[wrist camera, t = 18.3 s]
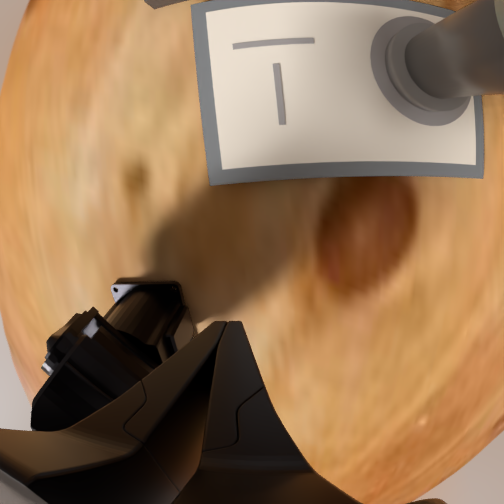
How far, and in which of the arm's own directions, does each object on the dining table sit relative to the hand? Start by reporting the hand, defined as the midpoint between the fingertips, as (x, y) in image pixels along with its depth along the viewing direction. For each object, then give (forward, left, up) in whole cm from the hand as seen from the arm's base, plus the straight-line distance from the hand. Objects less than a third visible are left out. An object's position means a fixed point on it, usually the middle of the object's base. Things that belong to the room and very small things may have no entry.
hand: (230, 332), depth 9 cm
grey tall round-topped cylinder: (+12, +10, -12) cm, 19 cm away
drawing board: (+7, +9, -13) cm, 17 cm away
